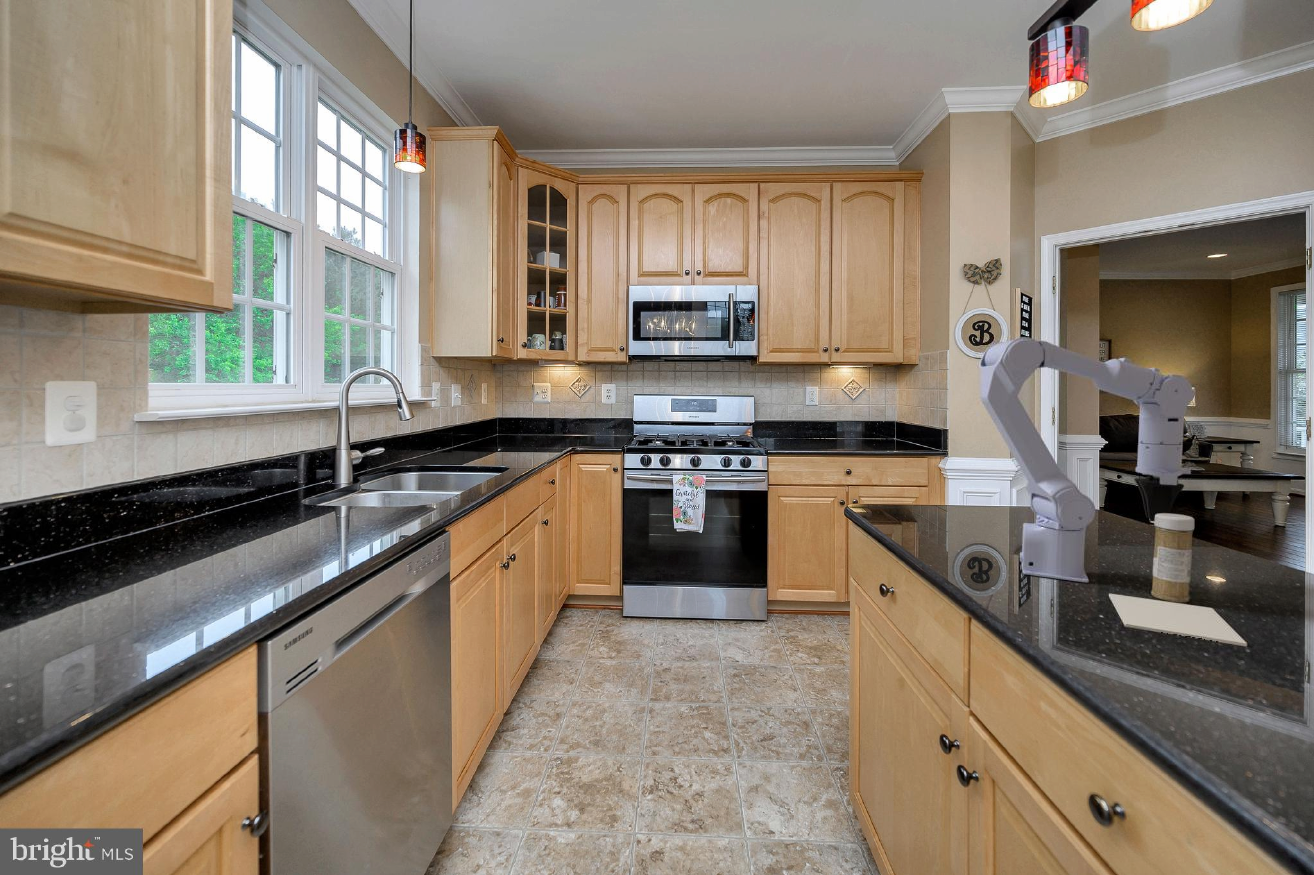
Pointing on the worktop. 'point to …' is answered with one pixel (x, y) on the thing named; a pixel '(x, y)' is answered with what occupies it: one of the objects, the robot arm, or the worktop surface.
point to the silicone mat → (1174, 619)
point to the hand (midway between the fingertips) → (1156, 519)
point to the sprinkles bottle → (1172, 557)
